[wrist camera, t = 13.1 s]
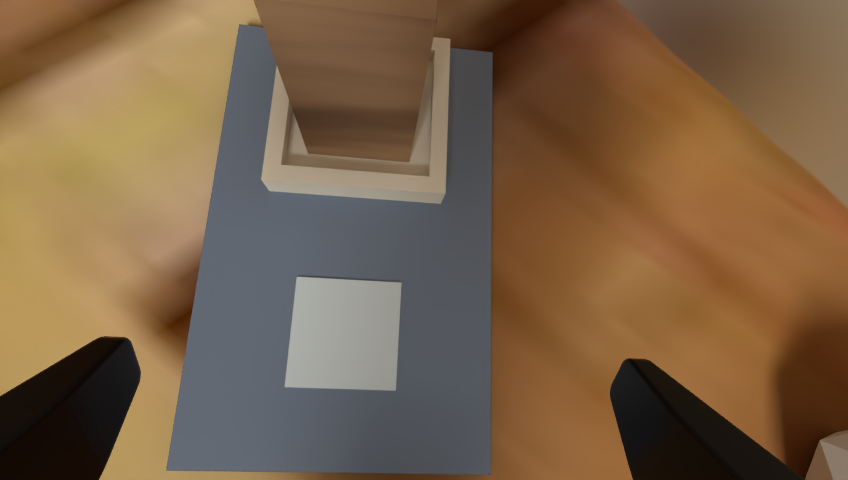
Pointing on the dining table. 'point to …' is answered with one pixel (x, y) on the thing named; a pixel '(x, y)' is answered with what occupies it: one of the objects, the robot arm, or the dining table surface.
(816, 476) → the die
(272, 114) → the board
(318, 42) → the pillar
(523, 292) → the dining table surface
